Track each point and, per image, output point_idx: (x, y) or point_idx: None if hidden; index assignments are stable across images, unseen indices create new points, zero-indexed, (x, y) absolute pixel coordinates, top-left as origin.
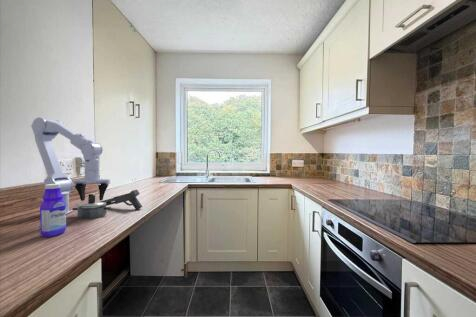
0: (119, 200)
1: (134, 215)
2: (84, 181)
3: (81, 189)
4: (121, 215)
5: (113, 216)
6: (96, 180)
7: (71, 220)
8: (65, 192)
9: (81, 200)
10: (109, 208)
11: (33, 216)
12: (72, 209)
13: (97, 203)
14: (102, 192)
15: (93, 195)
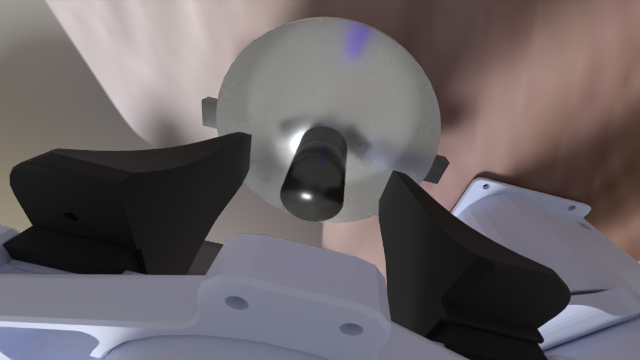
0: (205, 253)
1: (76, 39)
2: (425, 356)
3: (431, 241)
4: (158, 69)
5: (197, 57)
6: (71, 317)
7: (438, 28)
8: (540, 332)
9: (402, 173)
10: (206, 99)
11: (621, 209)
12: (446, 158)
13: (269, 110)
14: (172, 150)
15: (292, 169)
